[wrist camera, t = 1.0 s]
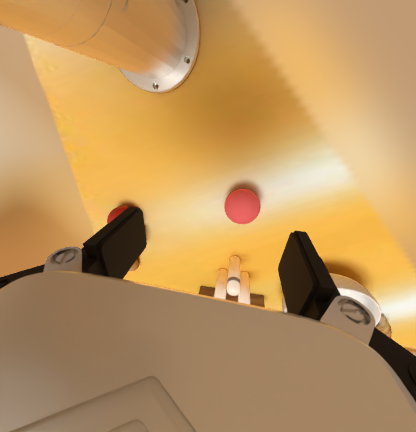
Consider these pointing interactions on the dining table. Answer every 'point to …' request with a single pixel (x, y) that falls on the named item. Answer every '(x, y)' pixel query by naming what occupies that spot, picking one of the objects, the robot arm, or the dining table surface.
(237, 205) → the ball
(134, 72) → the robot arm
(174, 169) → the dining table surface
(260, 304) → the wall
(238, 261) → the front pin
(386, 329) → the pastry
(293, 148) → the dining table surface
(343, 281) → the cereal bowl
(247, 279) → the pin
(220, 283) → the pin
